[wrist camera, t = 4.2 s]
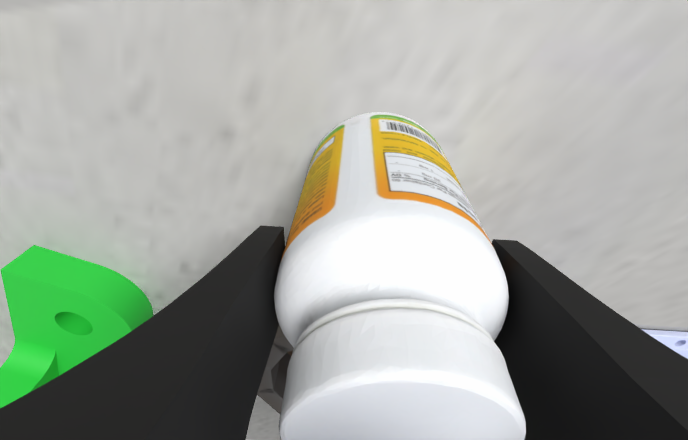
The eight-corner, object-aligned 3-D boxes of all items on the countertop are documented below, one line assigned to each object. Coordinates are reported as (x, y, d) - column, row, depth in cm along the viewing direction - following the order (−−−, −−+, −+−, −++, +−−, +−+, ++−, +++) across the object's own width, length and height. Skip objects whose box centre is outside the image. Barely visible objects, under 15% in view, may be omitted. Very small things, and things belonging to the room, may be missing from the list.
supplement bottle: (333, 240, 15) (303, 509, 7) (289, 131, 12) (161, 376, 4) (452, 214, 14) (569, 496, 6) (433, 89, 11) (603, 311, 3)
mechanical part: (142, 391, 24) (57, 542, 17) (52, 369, 23) (-77, 522, 16) (159, 280, 18) (36, 451, 11) (36, 242, 16) (-185, 406, 10)
